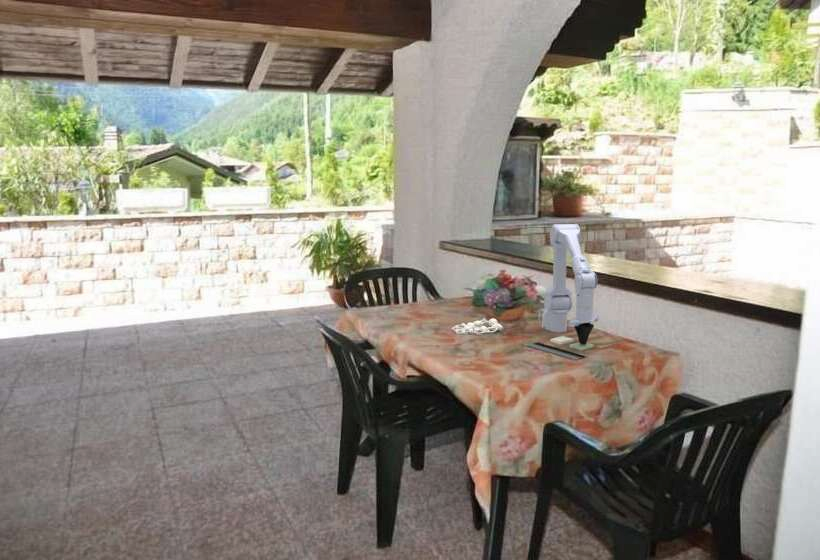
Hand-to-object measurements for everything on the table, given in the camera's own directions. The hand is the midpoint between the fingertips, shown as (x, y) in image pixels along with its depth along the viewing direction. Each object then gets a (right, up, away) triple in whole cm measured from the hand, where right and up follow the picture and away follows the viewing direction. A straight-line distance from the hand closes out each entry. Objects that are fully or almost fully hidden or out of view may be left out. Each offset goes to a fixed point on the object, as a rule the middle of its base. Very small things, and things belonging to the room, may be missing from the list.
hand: (582, 343), depth 212 cm
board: (+5, -1, +11) cm, 12 cm away
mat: (-7, -2, +2) cm, 7 cm away
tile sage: (-1, -2, 0) cm, 2 cm away
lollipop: (-5, +5, +47) cm, 47 cm away
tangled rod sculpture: (-34, +1, +28) cm, 44 cm away
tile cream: (-6, -1, +7) cm, 9 cm away
